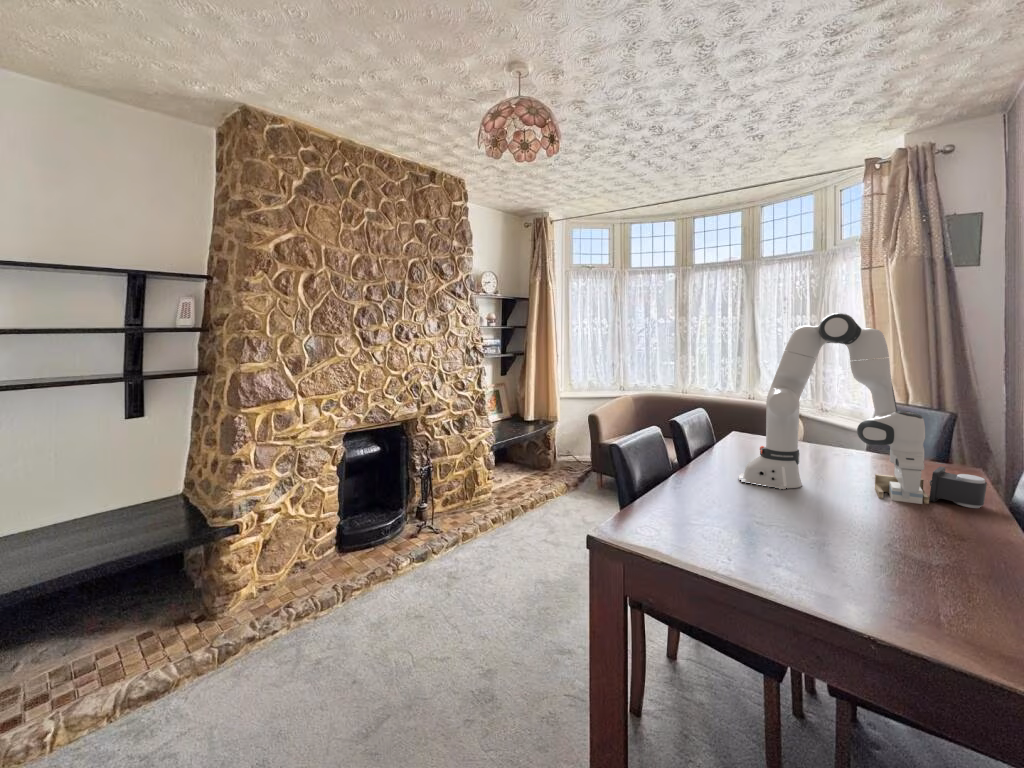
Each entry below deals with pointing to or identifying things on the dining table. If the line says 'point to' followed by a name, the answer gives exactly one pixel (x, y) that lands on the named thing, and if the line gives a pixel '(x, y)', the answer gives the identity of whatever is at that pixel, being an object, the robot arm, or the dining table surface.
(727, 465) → the dining table surface
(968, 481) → the light fixture
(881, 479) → the stand
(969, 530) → the dining table surface
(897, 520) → the dining table surface
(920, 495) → the carton
